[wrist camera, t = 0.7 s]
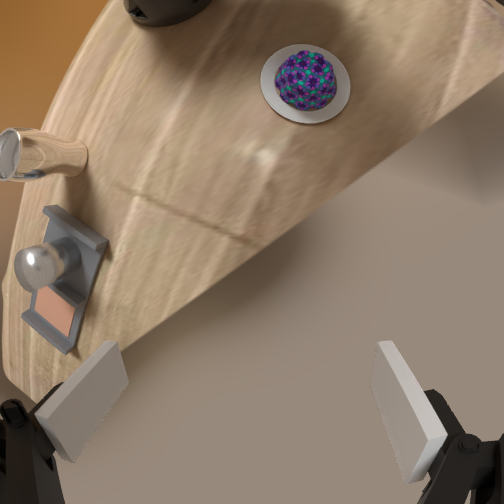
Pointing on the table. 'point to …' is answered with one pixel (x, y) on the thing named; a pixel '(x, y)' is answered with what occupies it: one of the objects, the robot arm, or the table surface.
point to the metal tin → (46, 263)
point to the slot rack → (66, 283)
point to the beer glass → (39, 155)
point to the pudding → (305, 83)
